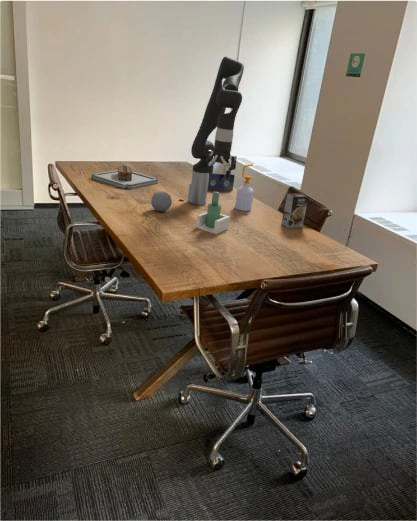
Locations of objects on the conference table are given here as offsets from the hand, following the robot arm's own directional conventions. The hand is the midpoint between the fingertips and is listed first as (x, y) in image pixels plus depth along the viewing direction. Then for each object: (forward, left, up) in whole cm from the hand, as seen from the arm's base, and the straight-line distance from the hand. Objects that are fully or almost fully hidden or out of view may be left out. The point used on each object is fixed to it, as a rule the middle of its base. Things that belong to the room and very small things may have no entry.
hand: (218, 176), depth 198 cm
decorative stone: (-31, +1, -25) cm, 40 cm away
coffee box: (+25, +37, -25) cm, 51 cm away
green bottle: (0, 0, -23) cm, 23 cm away
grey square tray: (-81, +31, -25) cm, 90 cm away
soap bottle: (-6, +42, -25) cm, 49 cm away
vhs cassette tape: (-35, +65, -25) cm, 78 cm away
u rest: (0, 0, -24) cm, 24 cm away
